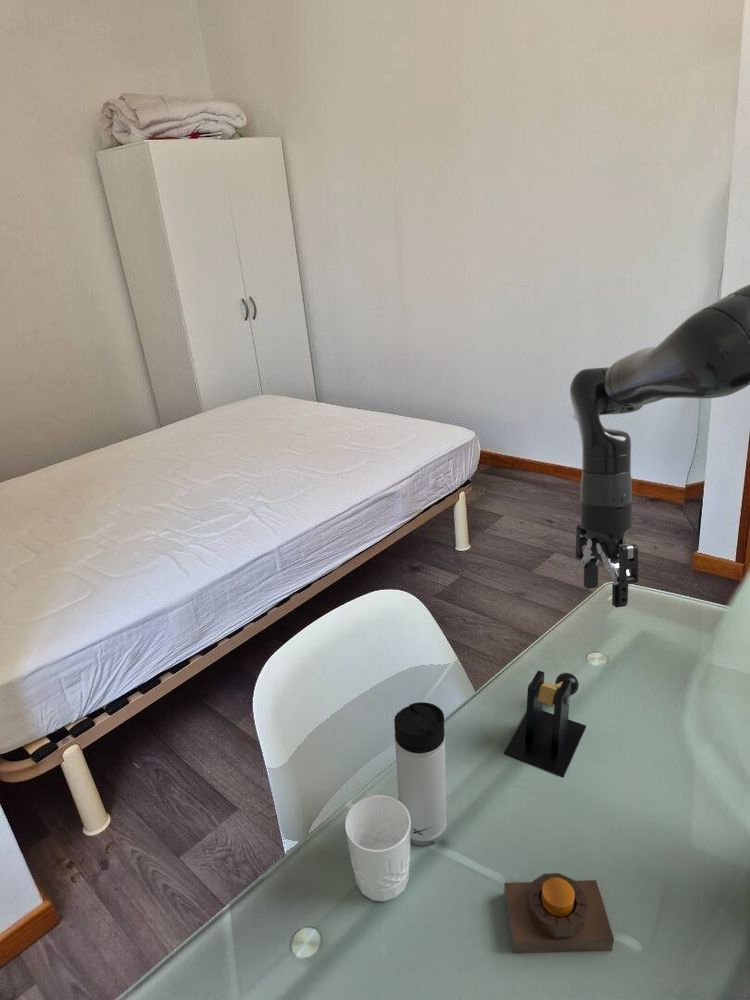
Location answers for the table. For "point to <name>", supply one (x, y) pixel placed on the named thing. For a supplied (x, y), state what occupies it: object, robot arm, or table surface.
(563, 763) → the switch bracket
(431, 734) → the travel mug
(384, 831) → the white cup
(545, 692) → the switch lever
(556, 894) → the button
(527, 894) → the switch plate
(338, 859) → the table surface
